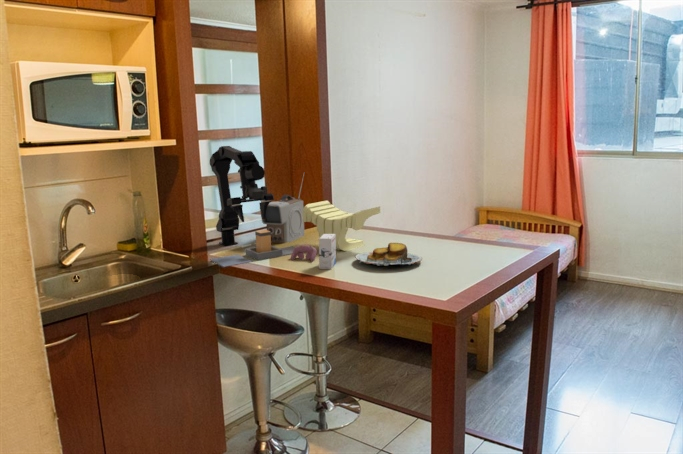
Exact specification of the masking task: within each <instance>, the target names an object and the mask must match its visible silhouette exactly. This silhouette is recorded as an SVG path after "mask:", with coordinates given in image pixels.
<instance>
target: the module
mask: <svg viewBox="0 0 683 454" xmlns="http://www.w3.org/2000/svg"><path fill="white" fill-rule="evenodd" d="M254 233H255V246H256V252H257V253H262V252H268V251H271V246H272V242H271V232H270V231H267V229H263V230H255V231H254Z"/></svg>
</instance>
